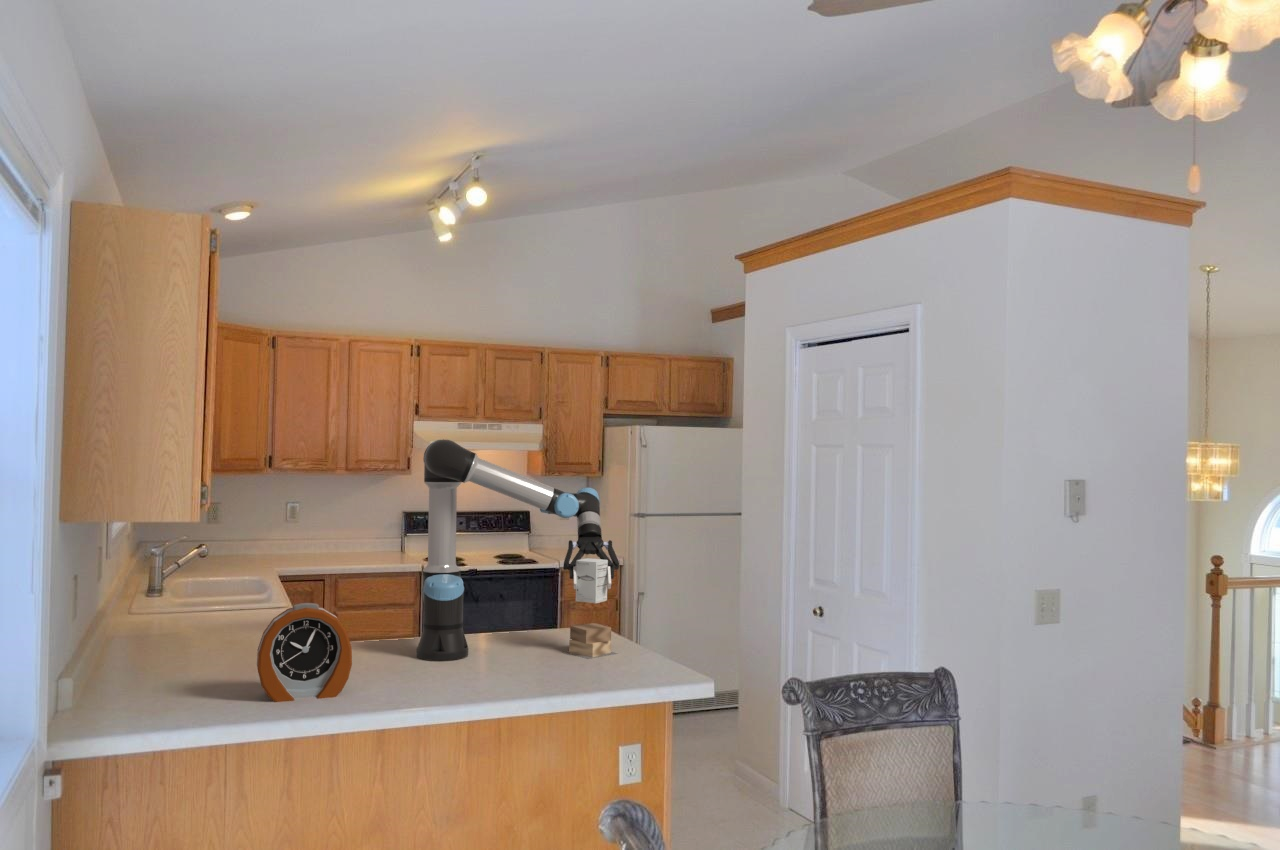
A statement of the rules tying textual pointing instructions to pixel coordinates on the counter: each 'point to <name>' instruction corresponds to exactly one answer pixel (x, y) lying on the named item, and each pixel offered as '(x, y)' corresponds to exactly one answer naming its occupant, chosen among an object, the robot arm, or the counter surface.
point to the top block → (590, 633)
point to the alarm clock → (304, 654)
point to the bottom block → (589, 648)
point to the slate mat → (591, 657)
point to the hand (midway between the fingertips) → (592, 586)
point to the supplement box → (591, 580)
